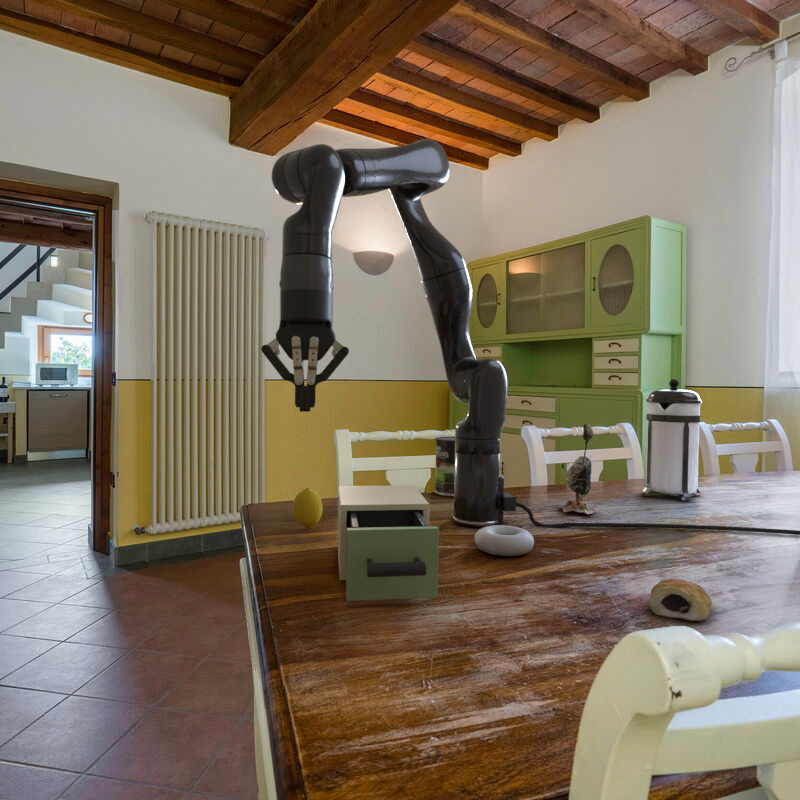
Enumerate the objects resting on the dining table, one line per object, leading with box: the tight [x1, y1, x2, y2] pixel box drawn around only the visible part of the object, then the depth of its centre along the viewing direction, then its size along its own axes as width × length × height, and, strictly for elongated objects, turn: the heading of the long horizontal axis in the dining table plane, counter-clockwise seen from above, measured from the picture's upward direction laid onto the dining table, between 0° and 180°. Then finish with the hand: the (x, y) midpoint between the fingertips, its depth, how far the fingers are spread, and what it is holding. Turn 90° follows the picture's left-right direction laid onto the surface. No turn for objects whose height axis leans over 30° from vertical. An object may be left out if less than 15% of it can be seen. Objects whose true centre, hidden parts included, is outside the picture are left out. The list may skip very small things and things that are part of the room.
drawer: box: [345, 510, 440, 602], centre depth 76 cm, size 18×12×9 cm, turn 7°
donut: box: [473, 524, 535, 557], centre depth 96 cm, size 10×4×10 cm
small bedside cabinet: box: [337, 484, 430, 581], centre depth 89 cm, size 15×13×11 cm
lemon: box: [292, 487, 323, 530], centre depth 108 cm, size 6×6×8 cm
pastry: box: [647, 578, 713, 622], centre depth 72 cm, size 9×7×4 cm
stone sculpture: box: [558, 422, 596, 515], centre depth 127 cm, size 8×11×20 cm
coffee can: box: [434, 436, 455, 498], centre depth 146 cm, size 10×10×14 cm
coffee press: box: [641, 378, 703, 503], centre depth 146 cm, size 17×16×30 cm
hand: (304, 411), depth 82 cm, fingers closed
